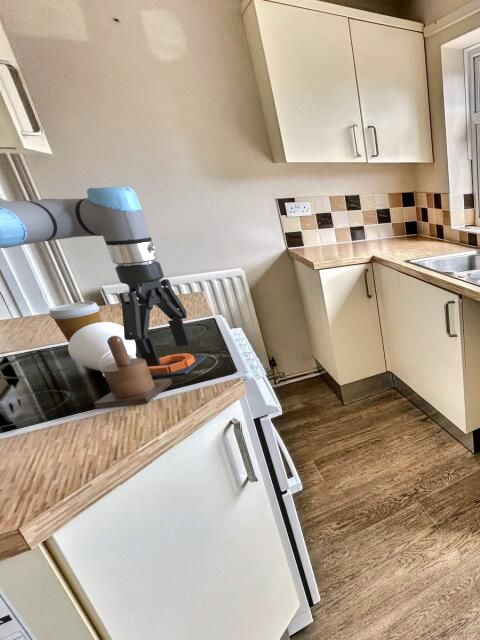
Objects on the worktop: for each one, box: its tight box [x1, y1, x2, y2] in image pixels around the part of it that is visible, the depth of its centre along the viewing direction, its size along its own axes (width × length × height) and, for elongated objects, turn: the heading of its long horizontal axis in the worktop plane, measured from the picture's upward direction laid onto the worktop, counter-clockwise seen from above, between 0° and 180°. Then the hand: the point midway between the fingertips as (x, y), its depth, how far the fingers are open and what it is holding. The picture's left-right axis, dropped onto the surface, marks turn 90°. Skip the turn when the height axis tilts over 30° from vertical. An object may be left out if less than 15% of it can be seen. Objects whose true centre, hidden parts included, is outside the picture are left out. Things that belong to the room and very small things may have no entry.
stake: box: [93, 336, 173, 410], centre depth 85 cm, size 9×9×13 cm
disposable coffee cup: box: [48, 301, 102, 343], centre depth 111 cm, size 10×10×12 cm
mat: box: [150, 355, 208, 379], centre depth 100 cm, size 10×10×1 cm
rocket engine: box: [67, 321, 137, 379], centre depth 95 cm, size 12×12×18 cm
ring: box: [148, 352, 195, 374], centre depth 99 cm, size 9×9×1 cm
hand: (169, 354), depth 99 cm, fingers open, 12 cm apart
